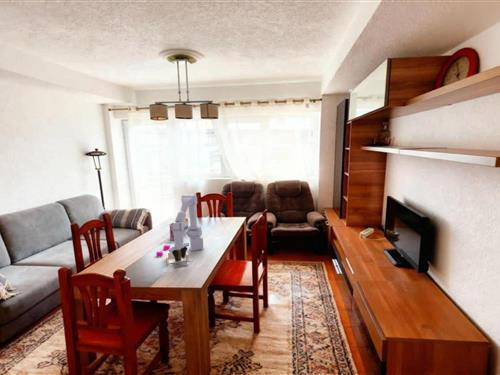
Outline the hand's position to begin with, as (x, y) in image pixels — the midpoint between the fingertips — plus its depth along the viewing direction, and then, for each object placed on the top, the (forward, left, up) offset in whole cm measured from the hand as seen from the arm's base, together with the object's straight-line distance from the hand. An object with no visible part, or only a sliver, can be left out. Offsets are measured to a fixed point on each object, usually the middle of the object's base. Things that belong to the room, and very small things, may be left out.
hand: (179, 259), depth 178 cm
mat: (0, 0, -4) cm, 4 cm away
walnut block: (+1, -8, -2) cm, 9 cm away
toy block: (+10, -28, -9) cm, 31 cm away
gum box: (-6, -62, -4) cm, 62 cm away
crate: (+1, -9, -4) cm, 10 cm away
